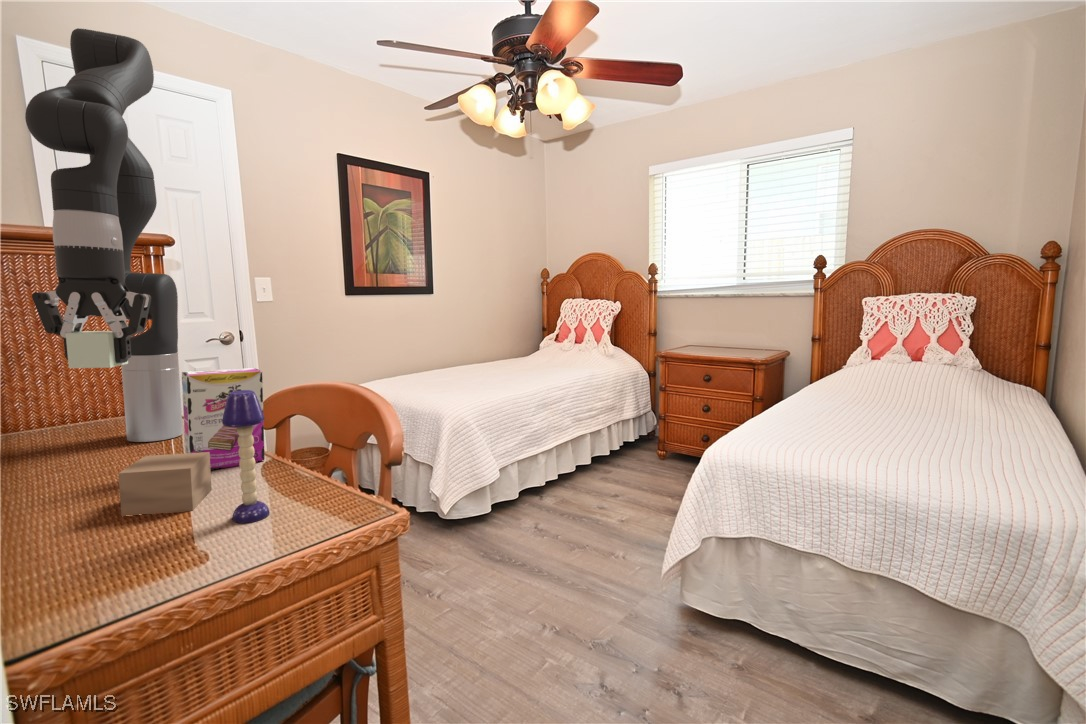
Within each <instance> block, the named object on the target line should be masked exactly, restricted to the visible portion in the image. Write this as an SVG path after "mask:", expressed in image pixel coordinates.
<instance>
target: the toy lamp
mask: <svg viewBox="0 0 1086 724" xmlns="http://www.w3.org/2000/svg"><path fill="white" fill-rule="evenodd" d="M264 420H265V415H264V411H263V412H262V409H261V406H260V404H259V401H258V398H257V396H256V394H255V392H254V391H252V390H239V391H234V392H230V393H229V394H228V397H227V401H226V405H225V410H224V414H223V419H222V424H223V425H224V426H226V427H237V433H238V435H239V437H238V445H239V446H240V448H239V457H240V458H241V459H240V463H239V465H238V466H239V469H240V474H239V478H240V480H241V484H240V487H241V488H240V489H241V492H242V494H241V501H242V503H241V504H239V505H237V507H236V508H235V509H234V511H233V513H232V518H231V519H232V521H233V522H234V523H238V524H247V523H248V524H249V523H254V522H258V521H261V520H263V519H265V518H267V517H268V516H269V515H270V510H269V509H270V508H269V507H268V505H267V504H266V503H265V502H263V501H260V500H258V497H259V496H258V492H257V487H258V484H257V483H258V482H257V481H256V477H257V472H256V469H255V467H256V462H255V459H254V457H253V456H254V453H255V451H254V447H253V446H252V445H253V443H254V438H253V435H252V432H253V426H252V425H256V424H260V423H261V422H263V421H264ZM264 422H265V421H264Z"/></svg>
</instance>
